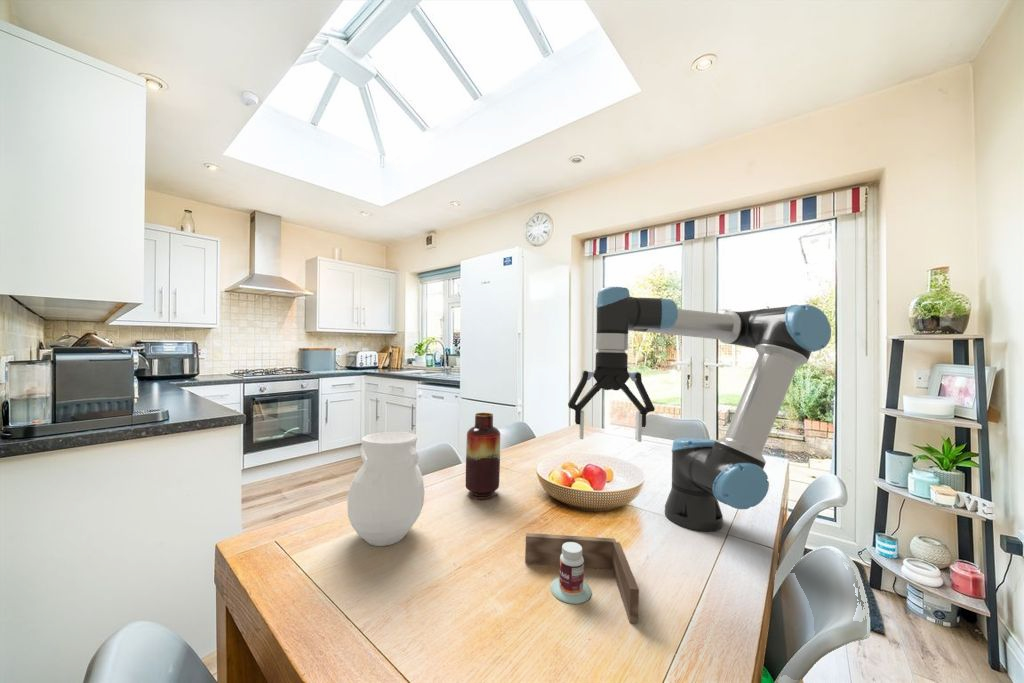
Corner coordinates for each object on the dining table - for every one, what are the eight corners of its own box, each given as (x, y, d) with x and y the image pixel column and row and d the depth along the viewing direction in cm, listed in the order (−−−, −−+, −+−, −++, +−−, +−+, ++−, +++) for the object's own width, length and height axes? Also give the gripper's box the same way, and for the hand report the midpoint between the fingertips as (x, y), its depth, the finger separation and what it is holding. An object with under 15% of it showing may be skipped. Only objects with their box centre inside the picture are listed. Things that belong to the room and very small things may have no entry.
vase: (505, 492, 123) (507, 413, 124) (485, 504, 114) (487, 419, 114) (478, 485, 129) (480, 410, 129) (457, 495, 120) (460, 414, 120)
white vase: (438, 528, 99) (440, 433, 99) (387, 564, 82) (391, 450, 82) (384, 513, 106) (386, 425, 107) (328, 543, 90) (331, 439, 90)
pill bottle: (554, 584, 76) (555, 543, 76) (574, 579, 78) (575, 538, 78) (567, 599, 72) (568, 555, 72) (587, 593, 74) (588, 550, 74)
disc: (588, 579, 78) (588, 577, 78) (593, 605, 71) (593, 604, 71) (550, 576, 79) (550, 575, 79) (551, 602, 71) (551, 600, 71)
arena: (617, 565, 84) (618, 538, 84) (638, 623, 66) (638, 589, 66) (525, 559, 85) (526, 532, 85) (521, 614, 68) (522, 581, 68)
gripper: (659, 352, 93) (657, 437, 93) (559, 350, 95) (557, 433, 95) (669, 353, 86) (667, 445, 86) (560, 350, 88) (558, 440, 87)
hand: (609, 439), depth 90 cm, fingers open, 13 cm apart
